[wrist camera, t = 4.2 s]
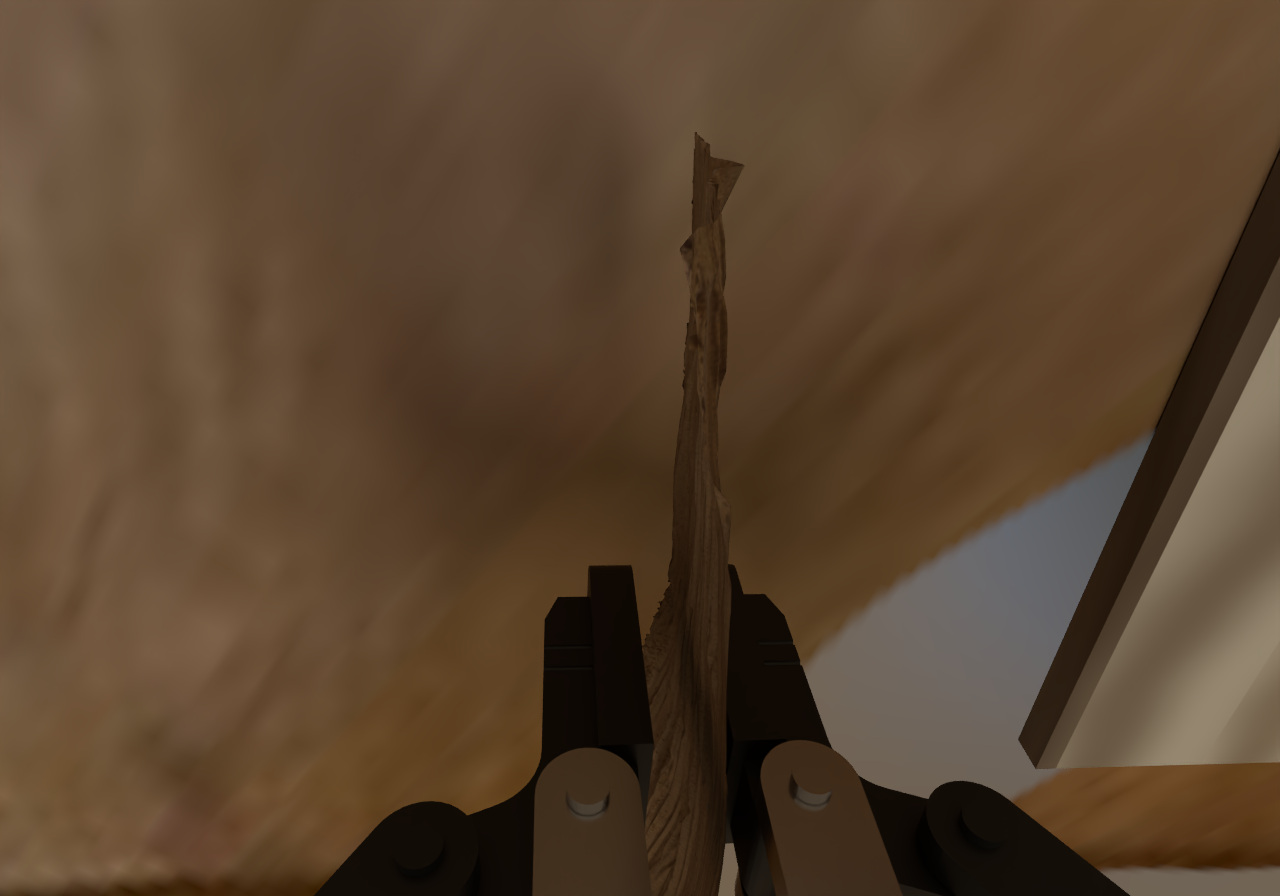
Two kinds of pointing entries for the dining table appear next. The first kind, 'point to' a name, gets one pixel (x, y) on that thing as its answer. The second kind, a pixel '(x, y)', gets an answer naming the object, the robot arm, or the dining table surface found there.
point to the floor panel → (1189, 560)
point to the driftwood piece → (694, 584)
